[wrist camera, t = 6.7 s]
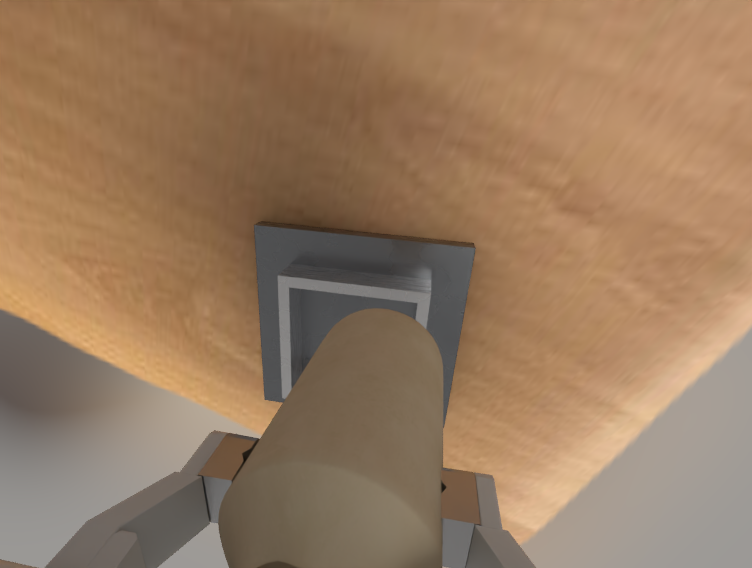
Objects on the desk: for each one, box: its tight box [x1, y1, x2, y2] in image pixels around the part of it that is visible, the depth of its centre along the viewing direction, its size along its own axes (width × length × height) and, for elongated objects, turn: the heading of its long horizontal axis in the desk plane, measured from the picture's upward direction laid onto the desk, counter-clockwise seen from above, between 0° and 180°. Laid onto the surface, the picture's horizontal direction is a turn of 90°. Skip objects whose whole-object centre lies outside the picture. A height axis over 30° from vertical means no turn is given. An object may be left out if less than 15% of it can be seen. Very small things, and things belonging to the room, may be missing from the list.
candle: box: [218, 308, 443, 568], centre depth 12 cm, size 6×6×10 cm
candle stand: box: [254, 221, 476, 428], centre depth 29 cm, size 16×16×4 cm
